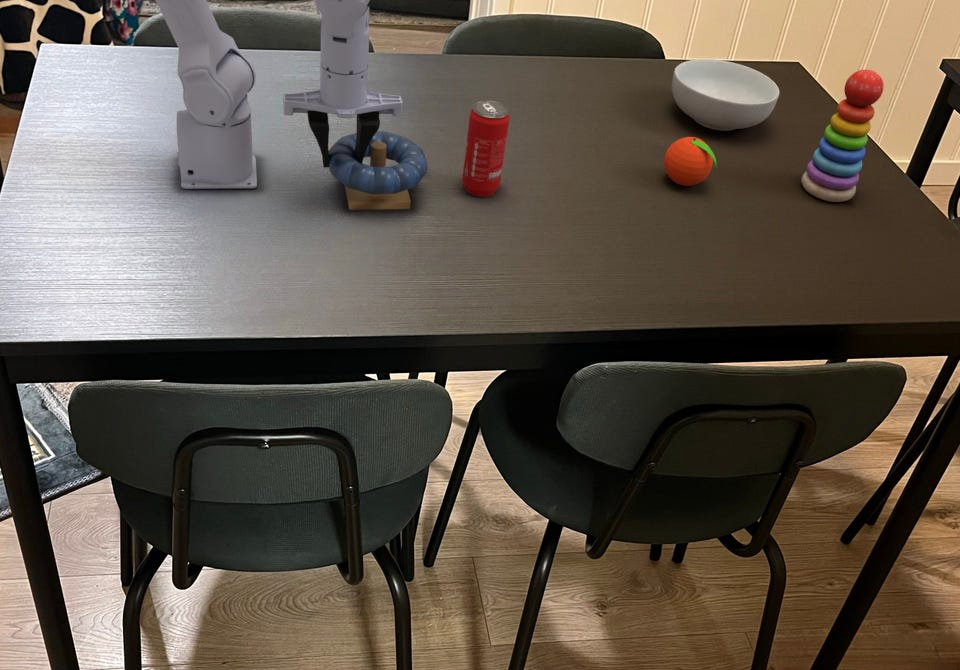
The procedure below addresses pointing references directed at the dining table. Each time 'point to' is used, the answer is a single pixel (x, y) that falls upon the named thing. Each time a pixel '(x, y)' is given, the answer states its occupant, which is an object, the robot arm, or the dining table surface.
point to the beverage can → (485, 148)
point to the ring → (378, 177)
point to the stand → (377, 201)
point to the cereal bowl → (723, 94)
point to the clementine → (688, 161)
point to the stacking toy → (844, 141)
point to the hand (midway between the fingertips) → (341, 163)
